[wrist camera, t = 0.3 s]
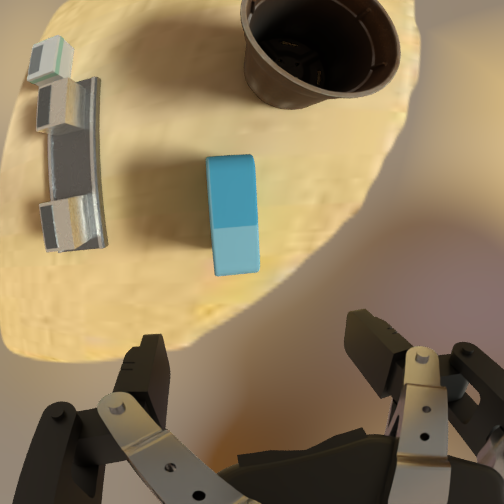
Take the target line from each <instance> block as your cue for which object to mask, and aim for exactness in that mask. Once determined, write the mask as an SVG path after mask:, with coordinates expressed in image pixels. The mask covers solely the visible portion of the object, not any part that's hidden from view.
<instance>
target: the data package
mask: <svg viewBox="0 0 504 504" xmlns="http://www.w3.org/2000/svg"><path fill="white" fill-rule="evenodd" d="M206 175H207V190H208V204H209V217H210V229H211V240H212V251H213V262H214V272H215V275H216V276H226V275H236V274H246V273H256V272H258V271H259V268H260V254H259V233H258V212H257V193H256V173H255V163H254V158H253V156H252V155H251V154H246V155H227V156H213V157H207V158H206Z"/></svg>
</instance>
